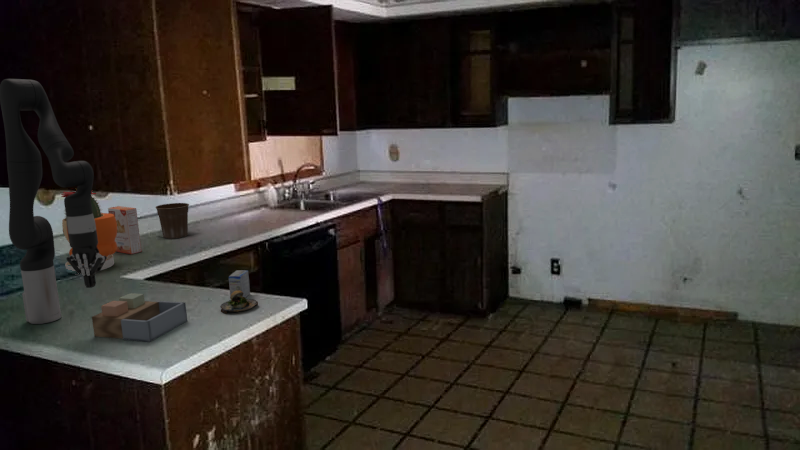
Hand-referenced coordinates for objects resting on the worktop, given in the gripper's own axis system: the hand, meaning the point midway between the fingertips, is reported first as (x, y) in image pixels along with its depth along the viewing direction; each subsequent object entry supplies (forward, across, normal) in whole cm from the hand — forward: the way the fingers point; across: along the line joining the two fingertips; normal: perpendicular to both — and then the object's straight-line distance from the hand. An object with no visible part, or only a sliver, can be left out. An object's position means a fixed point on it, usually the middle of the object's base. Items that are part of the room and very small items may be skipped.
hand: (90, 286), depth 194 cm
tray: (+14, +18, +4) cm, 23 cm away
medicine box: (+14, +27, +38) cm, 48 cm away
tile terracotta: (+8, +8, 0) cm, 11 cm away
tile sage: (+8, +8, +7) cm, 13 cm away
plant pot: (+13, -62, +128) cm, 143 cm away
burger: (+15, +33, +26) cm, 45 cm away
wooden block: (+14, +8, +4) cm, 16 cm away
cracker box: (+13, -65, +94) cm, 115 cm away
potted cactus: (+13, -59, +67) cm, 90 cm away
